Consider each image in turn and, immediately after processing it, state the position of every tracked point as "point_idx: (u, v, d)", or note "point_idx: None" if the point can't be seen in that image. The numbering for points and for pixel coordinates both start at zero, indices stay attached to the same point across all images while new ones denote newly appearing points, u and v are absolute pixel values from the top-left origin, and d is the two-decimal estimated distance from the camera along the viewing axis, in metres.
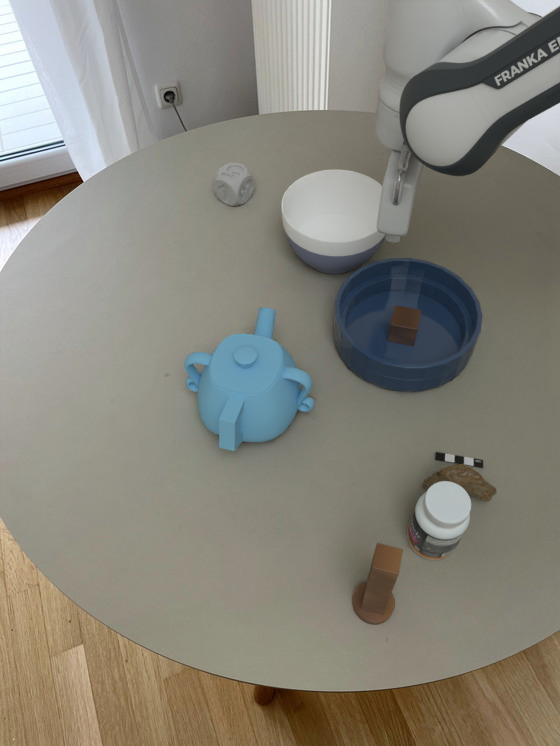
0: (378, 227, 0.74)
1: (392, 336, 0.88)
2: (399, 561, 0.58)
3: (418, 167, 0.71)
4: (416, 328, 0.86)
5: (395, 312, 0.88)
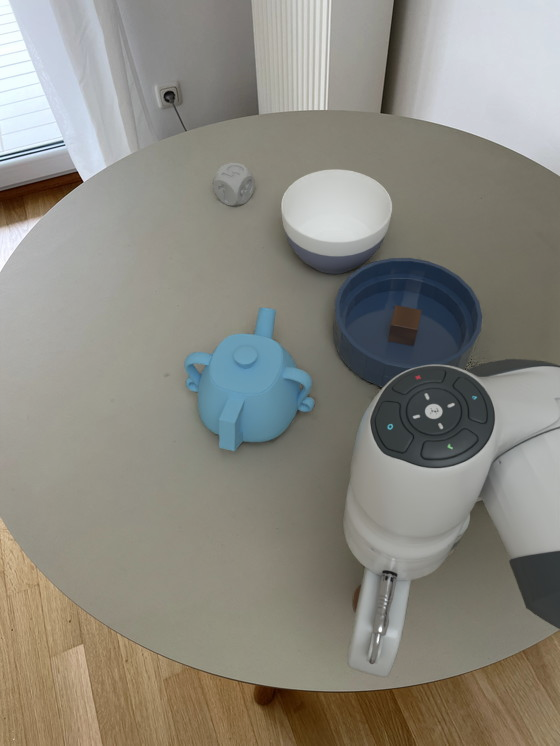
0: (348, 665, 0.52)
1: (392, 336, 0.88)
2: None
3: (404, 608, 0.49)
4: (416, 328, 0.86)
5: (395, 312, 0.88)
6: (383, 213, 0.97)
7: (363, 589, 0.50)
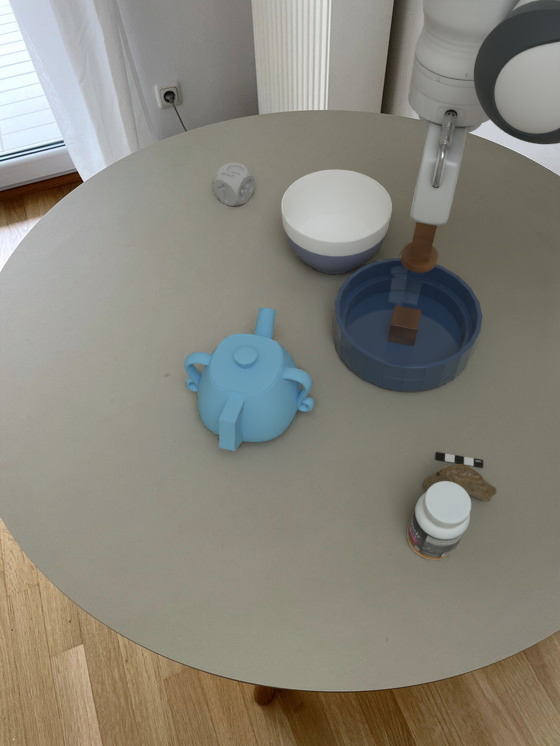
0: (413, 215, 0.62)
1: (392, 336, 0.88)
2: None
3: (463, 142, 0.59)
4: (416, 328, 0.86)
5: (395, 312, 0.88)
6: (383, 213, 0.97)
7: (428, 134, 0.60)
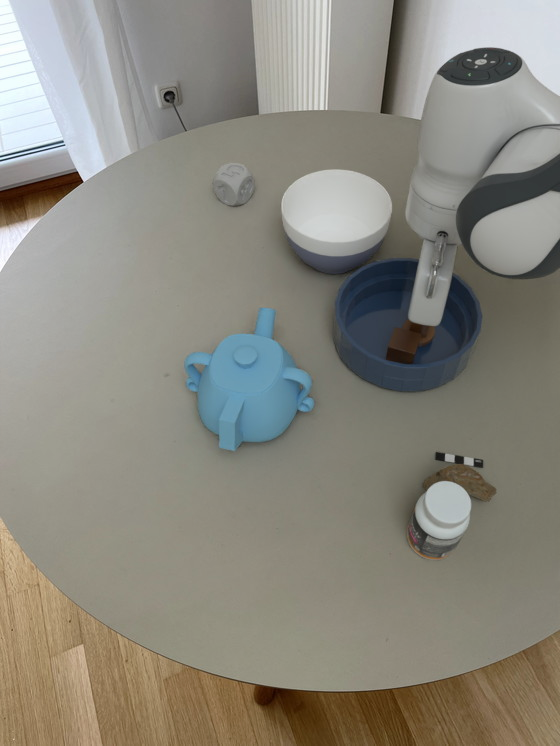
0: (410, 317, 0.71)
1: (389, 358, 0.86)
2: None
3: (453, 259, 0.68)
4: (413, 352, 0.84)
5: (394, 334, 0.86)
6: (383, 213, 0.97)
7: (422, 251, 0.69)
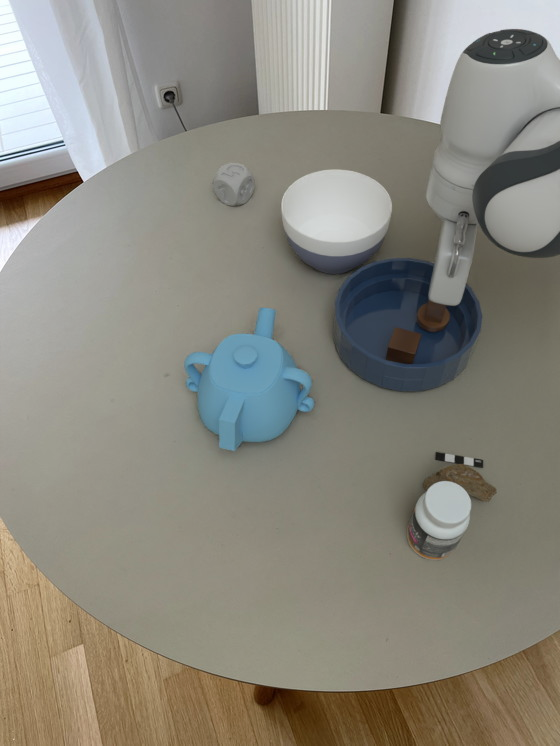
0: (430, 297, 0.72)
1: (389, 358, 0.86)
2: None
3: (474, 239, 0.69)
4: (413, 352, 0.84)
5: (394, 334, 0.86)
6: (383, 213, 0.97)
7: (444, 231, 0.70)
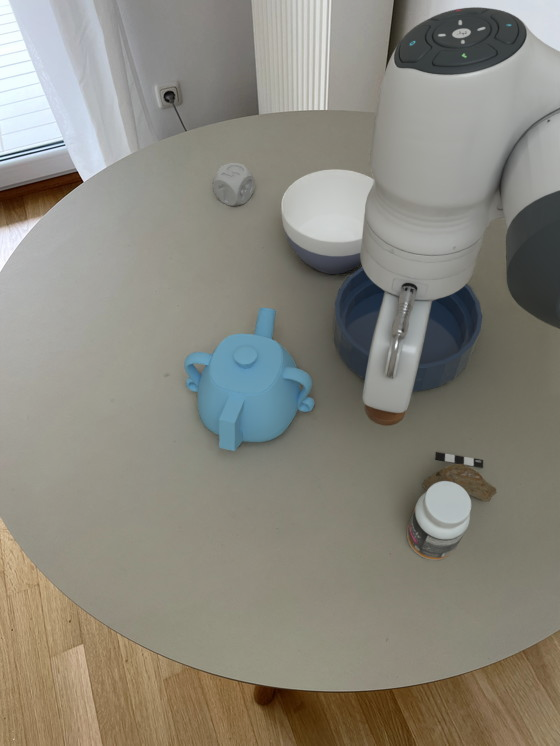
0: (365, 401, 0.50)
1: None
2: None
3: (424, 323, 0.47)
4: None
5: None
6: None
7: (381, 309, 0.48)
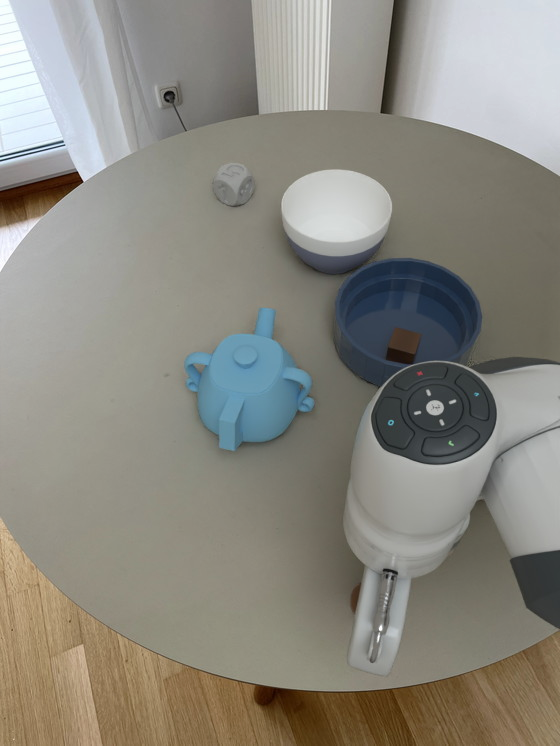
0: (349, 664, 0.52)
1: (389, 358, 0.86)
2: None
3: (405, 606, 0.49)
4: (413, 352, 0.84)
5: (394, 334, 0.86)
6: (383, 213, 0.97)
7: (363, 587, 0.50)
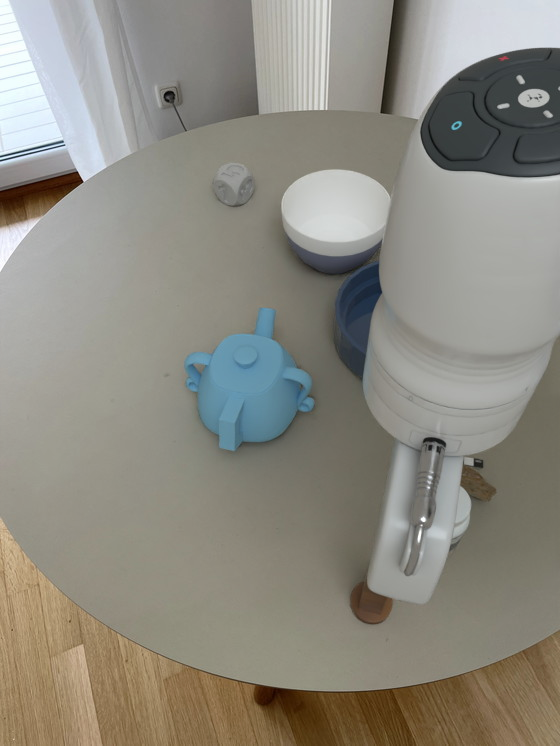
0: (370, 588, 0.36)
1: None
2: None
3: (456, 494, 0.33)
4: None
5: None
6: (383, 213, 0.97)
7: (394, 470, 0.34)
